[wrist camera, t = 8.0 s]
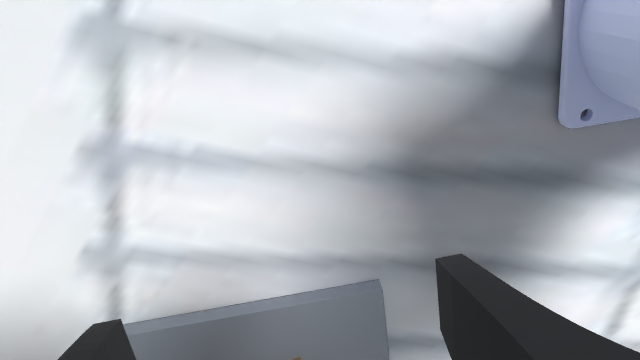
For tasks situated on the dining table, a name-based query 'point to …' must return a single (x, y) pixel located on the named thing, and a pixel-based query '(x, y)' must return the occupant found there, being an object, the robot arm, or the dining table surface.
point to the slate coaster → (273, 329)
